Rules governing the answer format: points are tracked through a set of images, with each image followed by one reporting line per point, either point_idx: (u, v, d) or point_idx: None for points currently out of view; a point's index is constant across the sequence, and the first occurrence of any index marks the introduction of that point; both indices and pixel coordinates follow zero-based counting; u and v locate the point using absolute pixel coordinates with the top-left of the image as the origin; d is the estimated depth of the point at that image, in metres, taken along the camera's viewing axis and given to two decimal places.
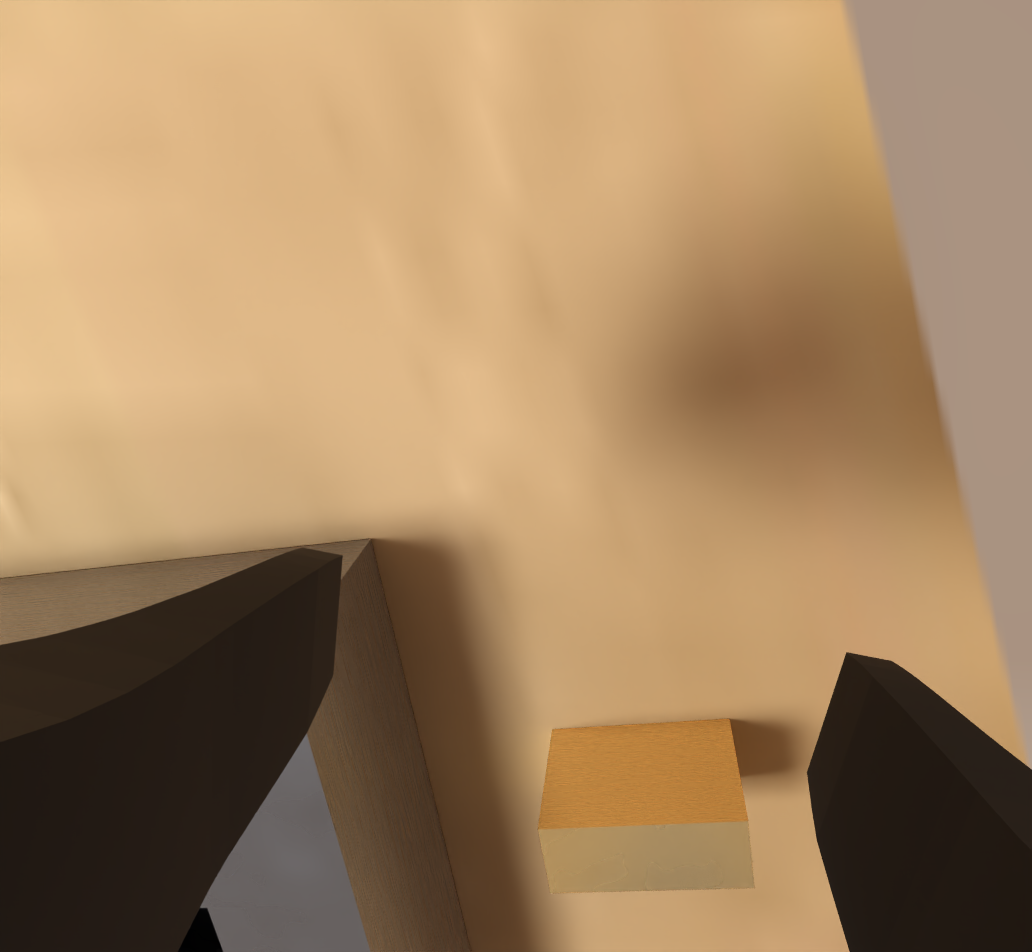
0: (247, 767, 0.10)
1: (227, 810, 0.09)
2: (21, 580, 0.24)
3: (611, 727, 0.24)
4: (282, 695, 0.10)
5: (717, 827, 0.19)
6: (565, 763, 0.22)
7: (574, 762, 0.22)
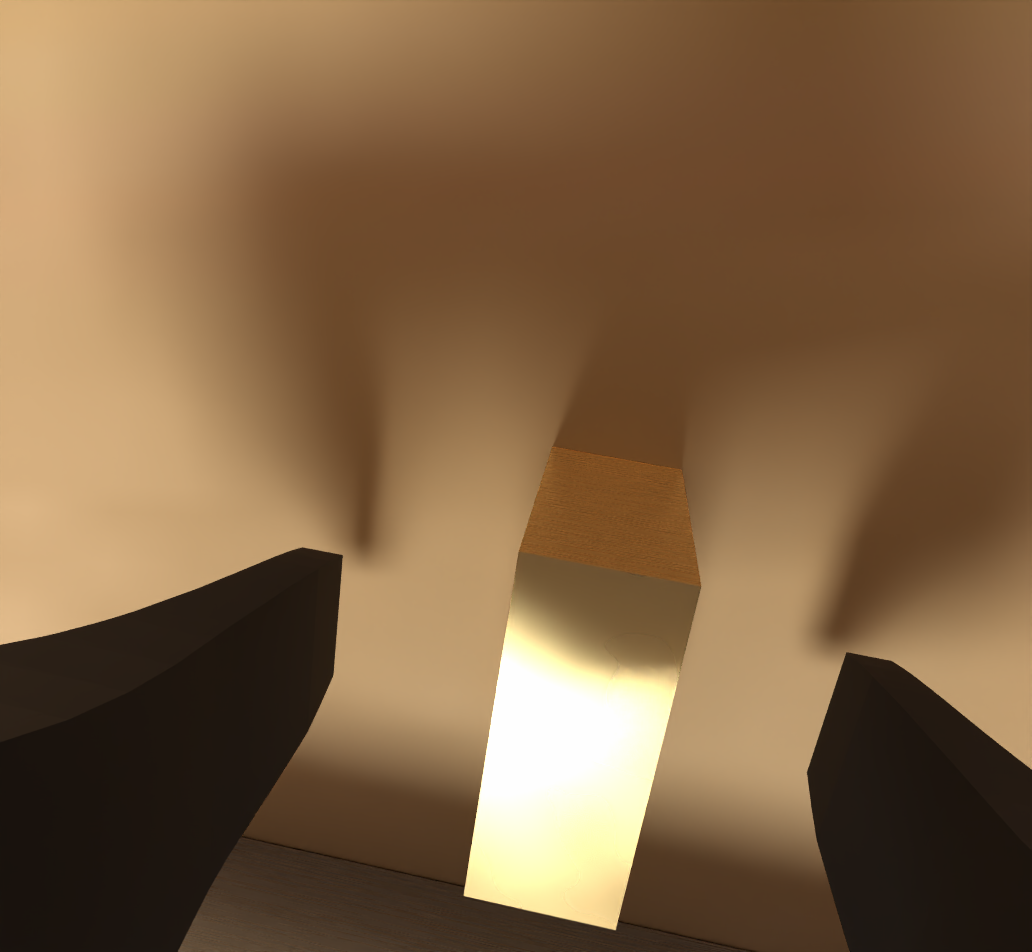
0: (247, 767, 0.10)
1: (227, 810, 0.09)
2: None
3: None
4: (282, 695, 0.10)
5: (520, 611, 0.09)
6: None
7: None
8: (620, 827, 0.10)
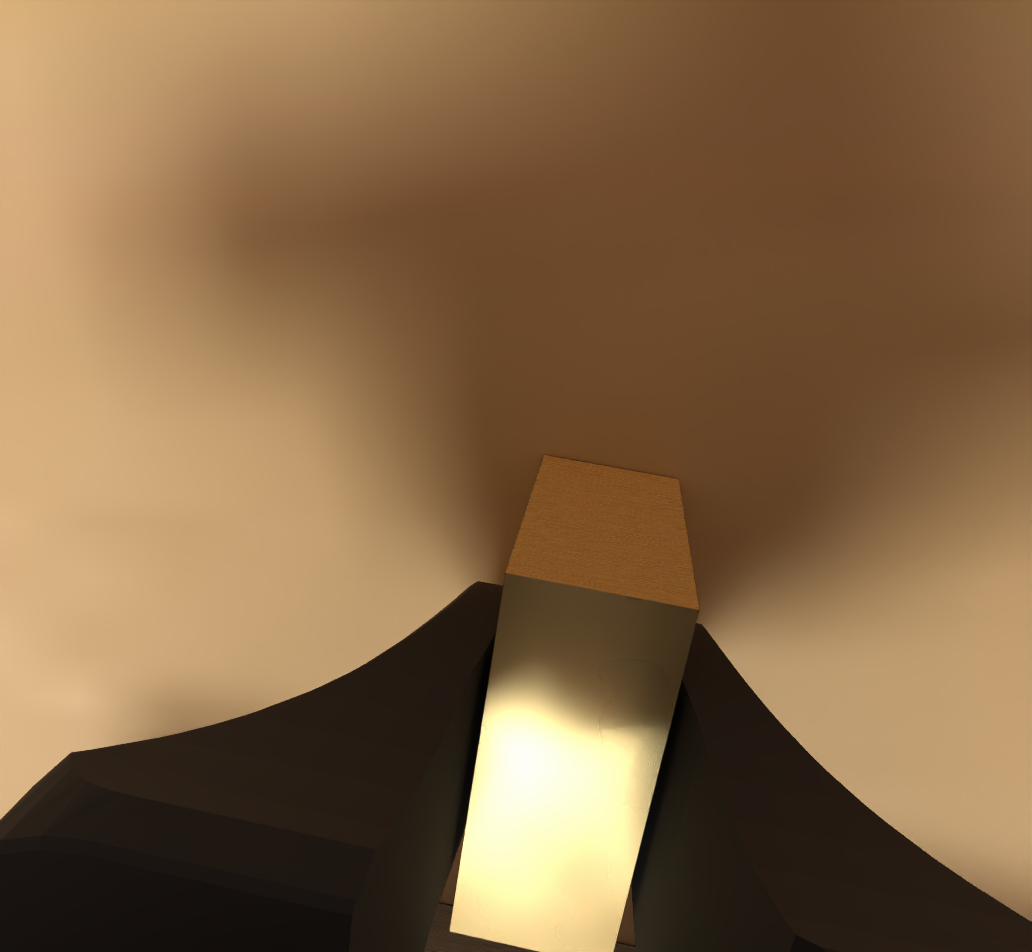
0: (457, 812, 0.10)
1: (444, 857, 0.09)
2: None
3: None
4: None
5: (507, 634, 0.09)
6: None
7: None
8: (614, 861, 0.10)
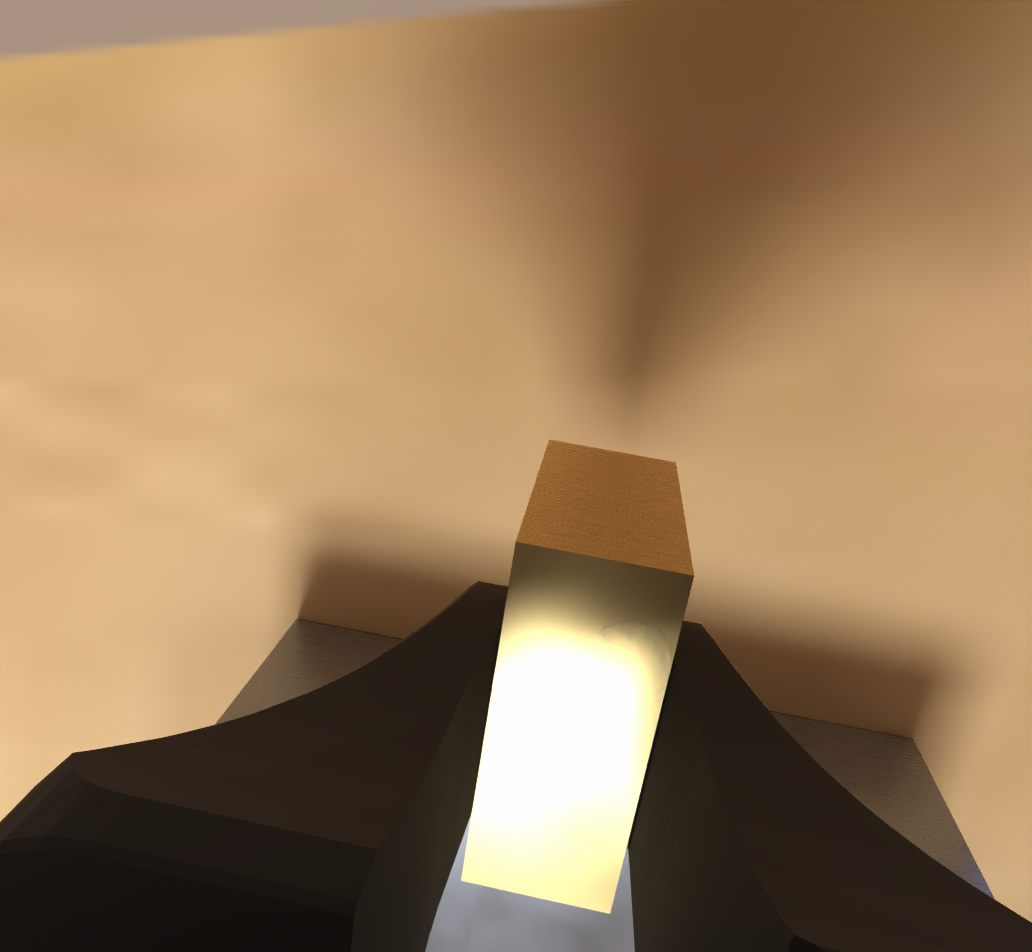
0: (458, 812, 0.10)
1: (445, 858, 0.09)
2: None
3: None
4: (482, 736, 0.10)
5: (516, 599, 0.09)
6: None
7: None
8: (614, 812, 0.10)
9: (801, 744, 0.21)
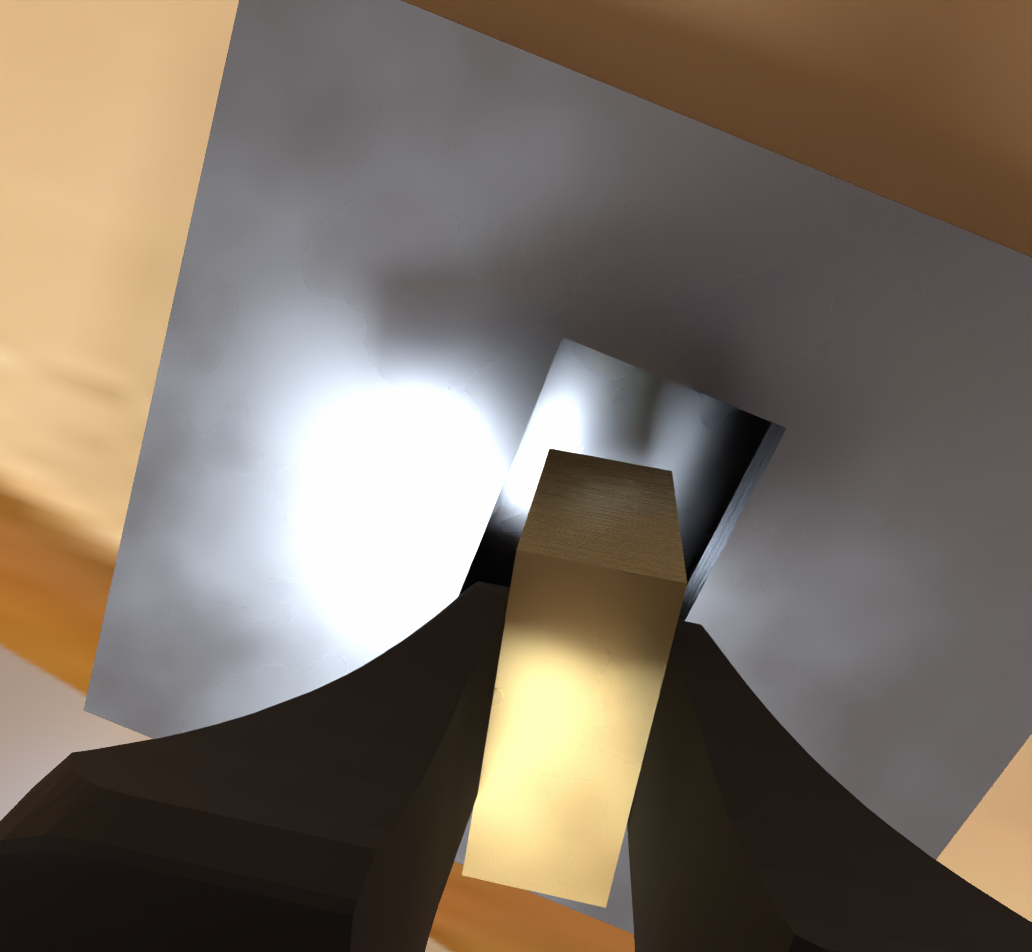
0: (458, 812, 0.10)
1: (445, 858, 0.09)
2: None
3: None
4: (481, 736, 0.10)
5: (516, 604, 0.10)
6: None
7: None
8: (610, 810, 0.11)
9: None
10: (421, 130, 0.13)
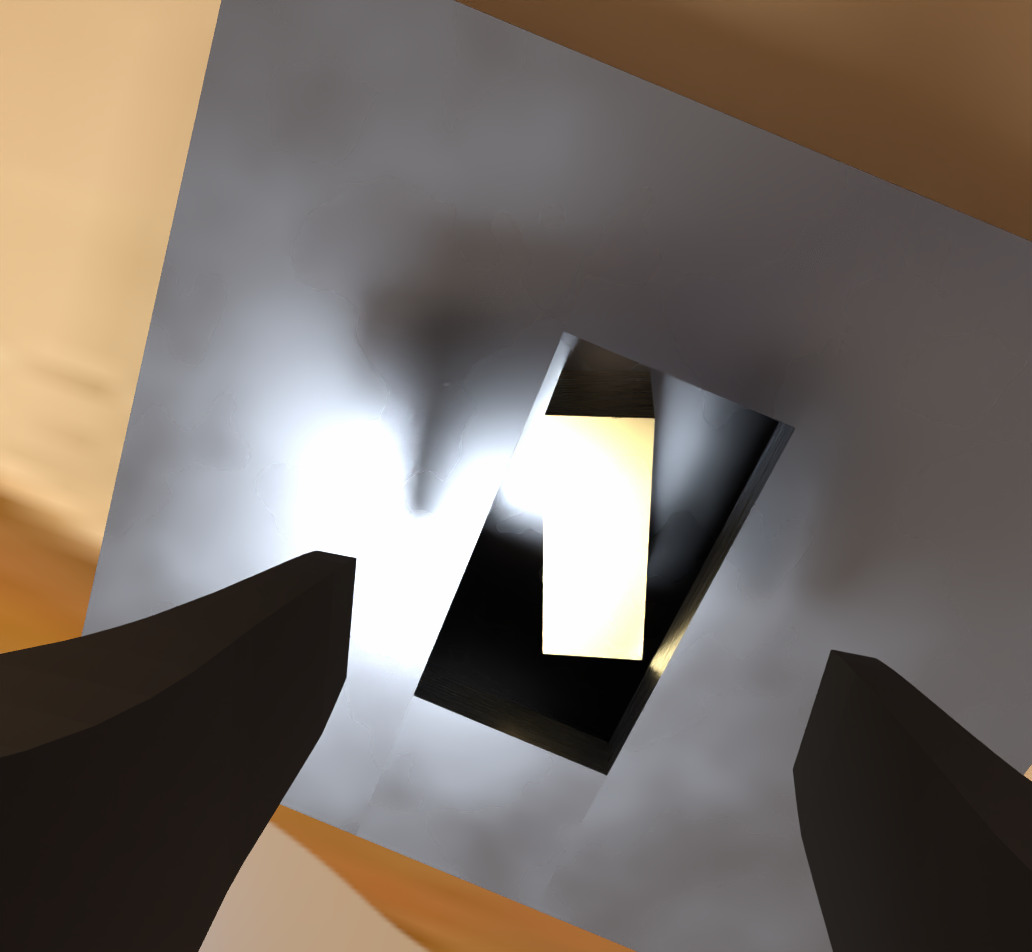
0: (264, 770, 0.10)
1: (244, 814, 0.09)
2: None
3: None
4: (298, 698, 0.10)
5: (550, 452, 0.15)
6: None
7: None
8: (633, 586, 0.16)
9: None
10: (417, 113, 0.12)
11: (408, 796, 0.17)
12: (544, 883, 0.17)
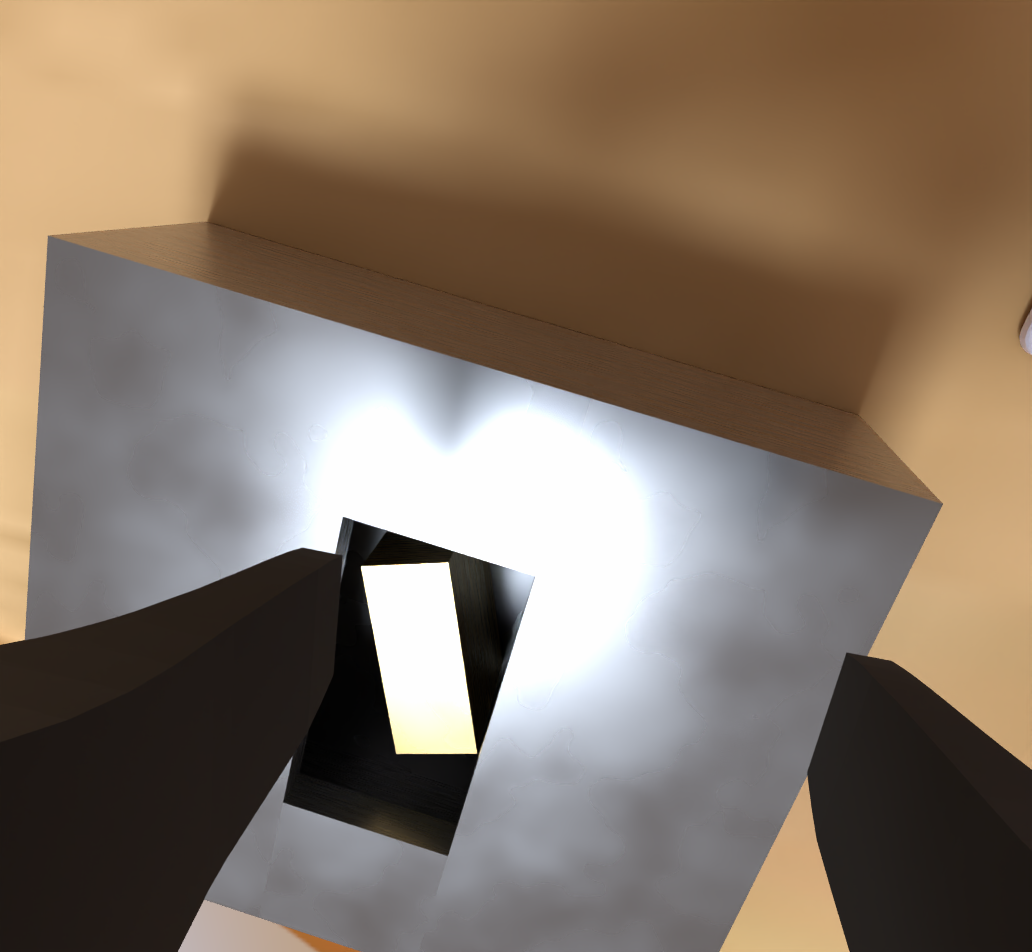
0: (247, 767, 0.10)
1: (227, 810, 0.09)
2: None
3: None
4: (282, 695, 0.10)
5: (371, 595, 0.19)
6: None
7: None
8: (457, 695, 0.19)
9: (739, 389, 0.19)
10: (202, 367, 0.16)
11: (294, 883, 0.20)
12: (416, 947, 0.20)
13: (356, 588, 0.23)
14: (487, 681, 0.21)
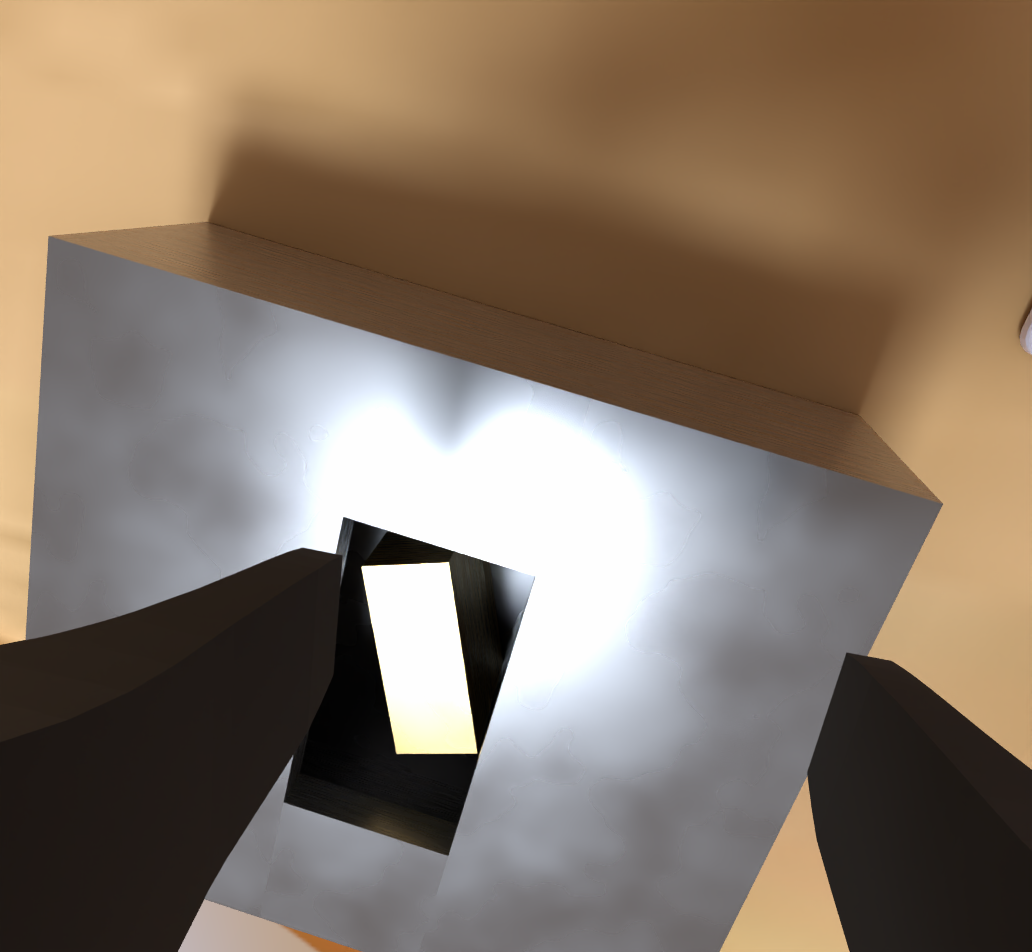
0: (247, 767, 0.10)
1: (227, 810, 0.09)
2: None
3: None
4: (282, 695, 0.10)
5: (372, 595, 0.19)
6: None
7: None
8: (458, 695, 0.19)
9: (739, 389, 0.19)
10: (203, 367, 0.16)
11: (294, 883, 0.20)
12: (416, 946, 0.20)
13: (356, 588, 0.23)
14: (487, 681, 0.21)
